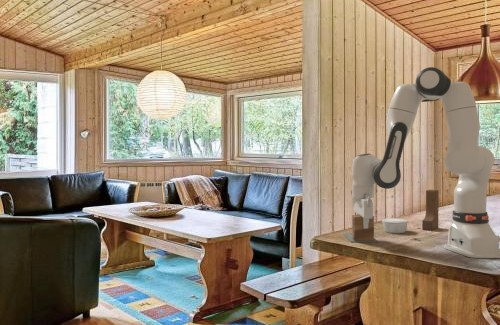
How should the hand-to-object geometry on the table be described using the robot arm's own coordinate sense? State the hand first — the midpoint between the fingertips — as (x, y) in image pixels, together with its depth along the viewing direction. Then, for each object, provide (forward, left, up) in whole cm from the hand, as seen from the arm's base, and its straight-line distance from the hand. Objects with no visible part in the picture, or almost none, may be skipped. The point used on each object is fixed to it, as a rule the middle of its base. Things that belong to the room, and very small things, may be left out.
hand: (362, 226), depth 187 cm
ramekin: (+19, -19, -6) cm, 28 cm away
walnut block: (0, 0, -6) cm, 6 cm away
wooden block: (+24, -37, -6) cm, 45 cm away
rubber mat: (+5, 0, -6) cm, 8 cm away
